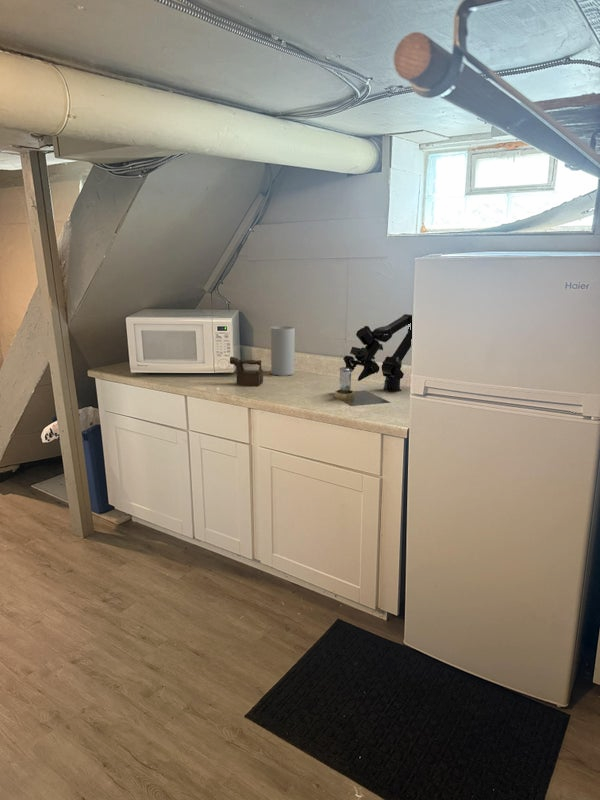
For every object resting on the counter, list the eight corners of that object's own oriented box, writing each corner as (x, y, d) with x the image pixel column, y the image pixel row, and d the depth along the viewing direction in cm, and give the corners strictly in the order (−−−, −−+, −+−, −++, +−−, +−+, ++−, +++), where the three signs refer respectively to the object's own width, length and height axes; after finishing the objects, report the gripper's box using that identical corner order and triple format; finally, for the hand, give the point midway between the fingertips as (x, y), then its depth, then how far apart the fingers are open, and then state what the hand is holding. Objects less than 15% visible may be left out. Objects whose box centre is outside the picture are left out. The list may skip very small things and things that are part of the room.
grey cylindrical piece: (349, 395, 249) (350, 367, 246) (351, 398, 244) (352, 369, 241) (338, 395, 249) (339, 367, 246) (339, 398, 244) (340, 369, 241)
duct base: (365, 392, 260) (366, 385, 259) (390, 404, 238) (391, 396, 237) (327, 395, 253) (328, 388, 253) (350, 408, 232) (350, 400, 231)
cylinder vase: (297, 372, 302) (298, 327, 296) (288, 377, 291) (288, 329, 285) (277, 370, 307) (277, 325, 301) (267, 375, 296) (267, 328, 290)
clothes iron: (234, 381, 280) (233, 355, 277) (264, 383, 277) (264, 356, 273) (228, 384, 273) (228, 357, 269) (259, 386, 269) (259, 359, 266)
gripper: (346, 337, 253) (327, 364, 249) (375, 342, 238) (356, 371, 235) (358, 353, 259) (340, 379, 255) (387, 358, 245) (369, 386, 241)
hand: (351, 378), depth 247 cm, fingers open, 9 cm apart
